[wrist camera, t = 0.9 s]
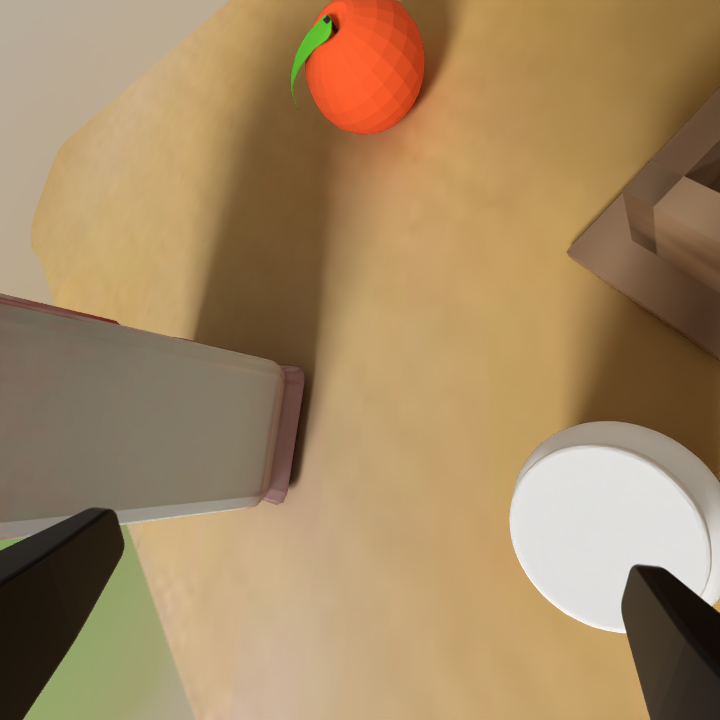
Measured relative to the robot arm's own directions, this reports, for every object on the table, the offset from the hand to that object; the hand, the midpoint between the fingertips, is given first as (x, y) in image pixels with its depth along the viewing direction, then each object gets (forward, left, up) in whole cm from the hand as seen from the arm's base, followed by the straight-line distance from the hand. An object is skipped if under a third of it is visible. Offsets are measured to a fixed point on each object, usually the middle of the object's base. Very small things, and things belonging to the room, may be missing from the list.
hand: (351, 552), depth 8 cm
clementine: (+23, -9, -15) cm, 29 cm away
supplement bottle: (-2, -2, -15) cm, 15 cm away
